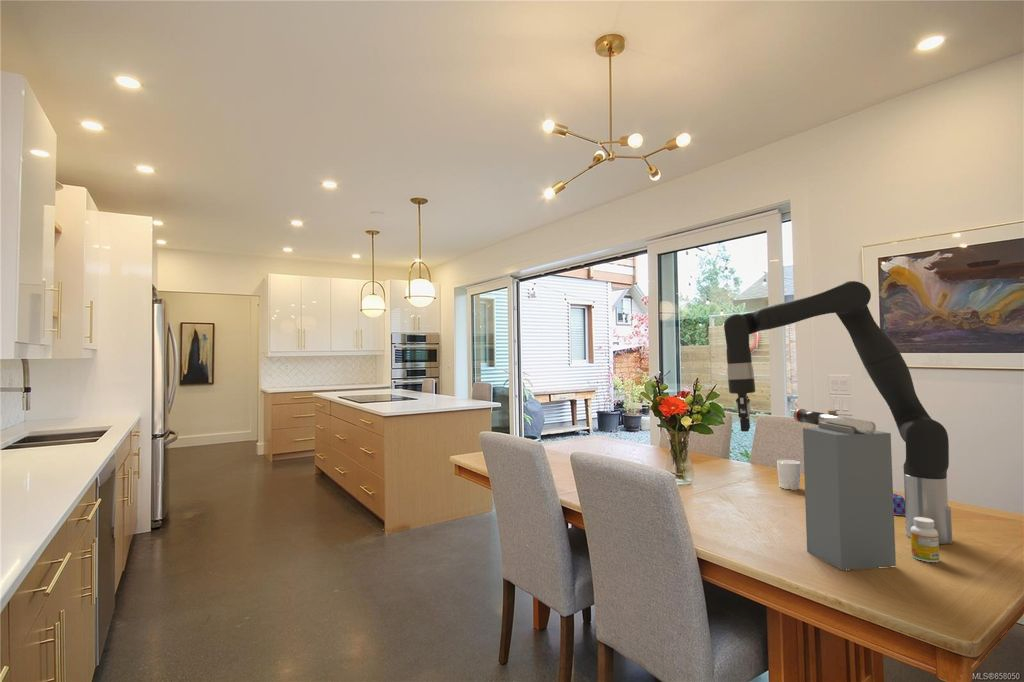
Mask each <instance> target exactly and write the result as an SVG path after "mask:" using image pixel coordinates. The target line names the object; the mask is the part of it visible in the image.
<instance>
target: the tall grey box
mask: <svg viewBox="0 0 1024 682" xmlns="http://www.w3.org/2000/svg"><path fill="white" fill-rule="evenodd" d="M817 426H818V427H803V428H802V439H803V440H802V443H803V468H804V469H803V471H804V493H805V494H804V497H805V498H804V499H805V500H804V501H805V524H806V525H805V530H806V531H805V532H806V552H808V553H809V554H811V555H813V556H815V557H817V558H818V559H820V560H822V561H823V562H825V561H826V563H827V562H828V563H827V564H829V565H830V566H832V565H833V566H832V567H834V566H835V568H836V567H837V568H836V569H838V568H839V569H841V570H844V571H849V570H848V569H861V570H870V569H869V568H877V569H880V568H879V567H891V566H896V567H897V563H896V562H897V561H896V560H897V559H896V536H895V533H896V532H895V515H894V506H893V494H894V487H893V485H894V483H893V461H892V459H893V458H892V457H893V456H892V437H891V436H892V433H891V432H886V431H880V430H876V431H875V432H874V433H873V434H866V433H861V432H856V431H854V428H850V427H844V426H839V425H834V424H828V423H823V422H818V425H817ZM867 568H868V569H867ZM839 569H838V570H839ZM846 569H847V570H846ZM841 570H840V571H841Z"/></svg>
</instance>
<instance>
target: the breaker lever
mask: <svg viewBox="0 0 1024 682" xmlns="http://www.w3.org/2000/svg"><path fill="white" fill-rule="evenodd" d="M827 414H828V413H824V412H818V411H812V410H806V409H803V408H797V409H796V410H795V411H794V412H793V418H794V419H793V420H795V421H796V422H798V423H802V424H803V423H805V424H811V425H817V426H818V422H823V423H828V424H834V425H839V426H844V427H850V428H854V431H856V432H861V433H866V434H873V433H874V432H875V431H877V426H876V423H875V422H873V421H868V420H863V419H858V418H853V417H845V416H840V415H838V416H833V415H827Z"/></svg>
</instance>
